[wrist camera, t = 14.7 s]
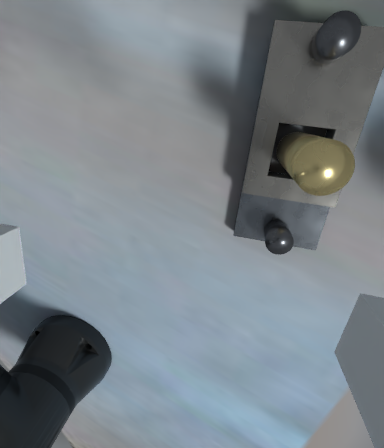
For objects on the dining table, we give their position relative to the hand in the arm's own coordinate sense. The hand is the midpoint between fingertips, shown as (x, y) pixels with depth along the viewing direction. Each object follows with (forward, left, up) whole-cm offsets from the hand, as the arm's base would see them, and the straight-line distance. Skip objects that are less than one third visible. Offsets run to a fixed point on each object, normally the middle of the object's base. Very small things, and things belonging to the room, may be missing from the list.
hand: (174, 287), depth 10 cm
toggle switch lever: (+4, -8, -24) cm, 25 cm away
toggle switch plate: (+4, -8, -24) cm, 25 cm away
